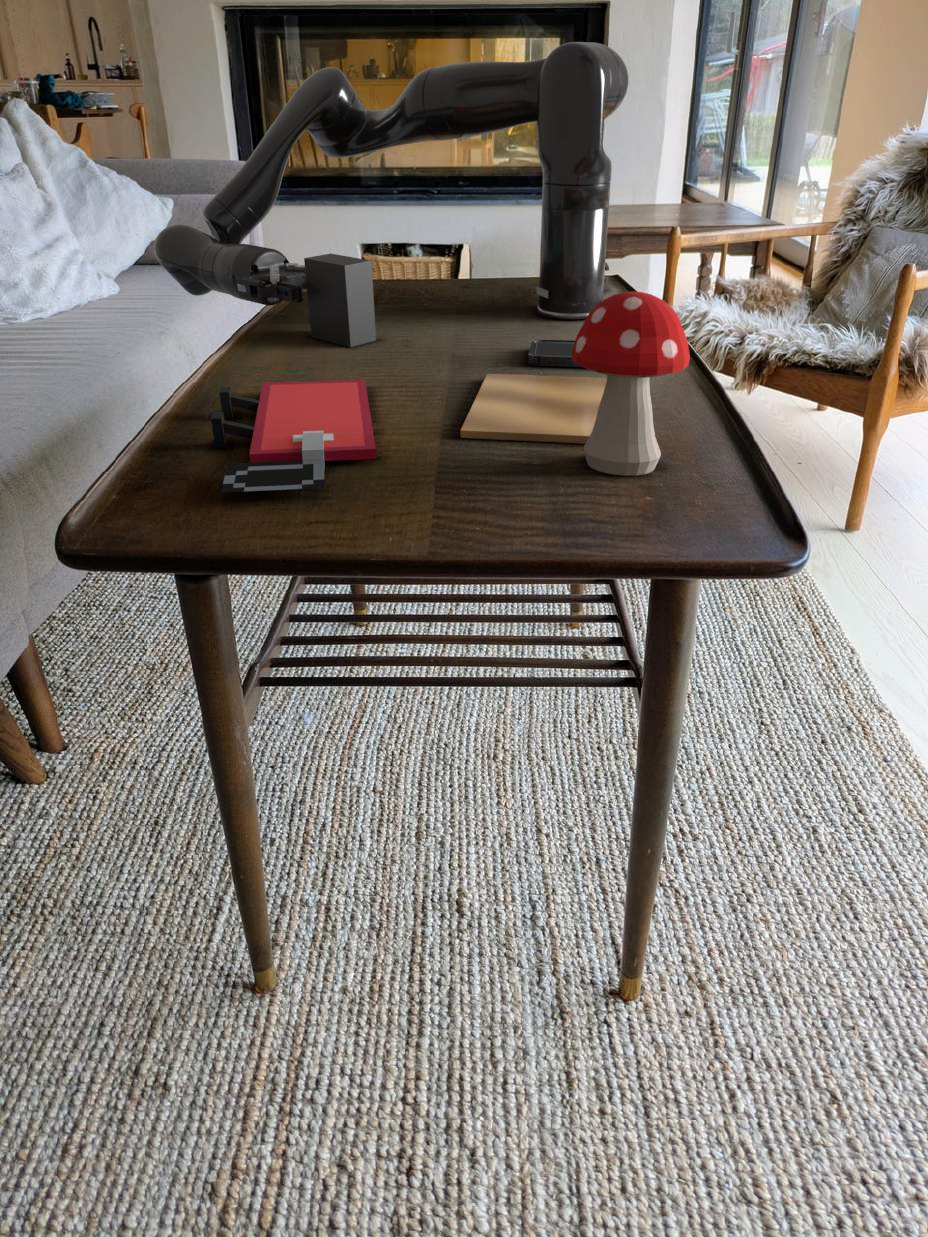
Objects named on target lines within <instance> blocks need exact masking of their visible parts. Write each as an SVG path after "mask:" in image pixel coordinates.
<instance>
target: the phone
mask: <svg viewBox="0 0 928 1237" xmlns="http://www.w3.org/2000/svg"><path fill="white" fill-rule="evenodd" d="M574 343H575V340H571V339H569V340H567V339H535V340H532V341H531V344H530V346H529V351H528V353H527V363H528V364H529V365H531V366H543V367H573V368H583V367H582V366H579V365H577V364H576V363H575V362H574V361H573V360H572V349H573V346H574Z"/></svg>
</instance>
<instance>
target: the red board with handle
mask: <svg viewBox="0 0 928 1237" xmlns="http://www.w3.org/2000/svg"><path fill="white" fill-rule="evenodd" d="M219 398H220V405H221V406H220V407H221V411H217V412H216V411H215V412H212V415H211V417H210V421H211V427H212V429H211V430H212V436H213V442H214V443H213V444H214V448H226V446H227V442H228V439H227V435H229V436H235V437H241V438H245V439H249V440H251V442H250V449H249V462H240V463H239V462H236V463H227V464H226V469H225V473H224V476H223V482H222V486H221V488H220V489H221V490H220V493H221V494H222V493H243V492H244V493H245V492H261V491H262V492H263V491H264V492H265V491H282V490H283V491H285V490H287V491H288V490H307V489H325V470H326V462H330V461H331V462H332V461H356V460H357V461H358V460H376V459H377V447H376V442H375V434H374V430H373V429H374V428H373V423H372V416H371V409H370V403H369V397H368V390H367V383H366V379H339V380H338V379H336V380H307V381H306V380H305V381H303V380H302V381H277V382H276V381H271V382H262V385H261V390H260V395H259V399H254V398H250V397H246V396H242V395H237V394H232V389H231V386H221V387H220V389H219ZM234 408H237V409H243V410H247V411H253V412H256V416H255V421H254V425H248V424H243V423H238V422H234V421H230V420H233V418H234V414H235V412H234Z"/></svg>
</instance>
